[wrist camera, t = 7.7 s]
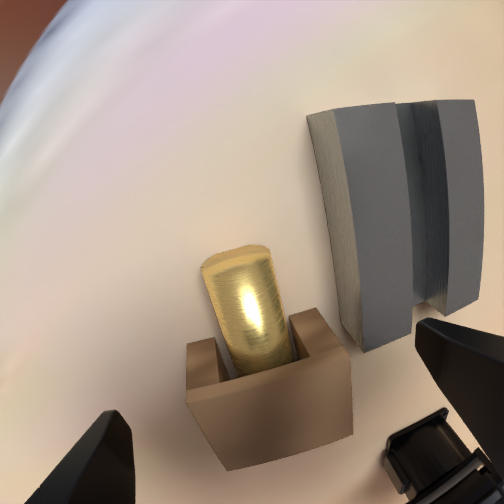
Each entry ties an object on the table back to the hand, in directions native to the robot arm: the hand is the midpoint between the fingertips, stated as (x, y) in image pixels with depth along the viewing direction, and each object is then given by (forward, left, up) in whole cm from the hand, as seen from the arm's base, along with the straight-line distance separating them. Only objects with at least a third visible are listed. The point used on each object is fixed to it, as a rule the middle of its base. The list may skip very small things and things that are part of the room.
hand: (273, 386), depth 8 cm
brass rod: (0, +4, -8) cm, 9 cm away
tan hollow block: (0, +6, -8) cm, 10 cm away
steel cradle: (-9, -1, -8) cm, 12 cm away
